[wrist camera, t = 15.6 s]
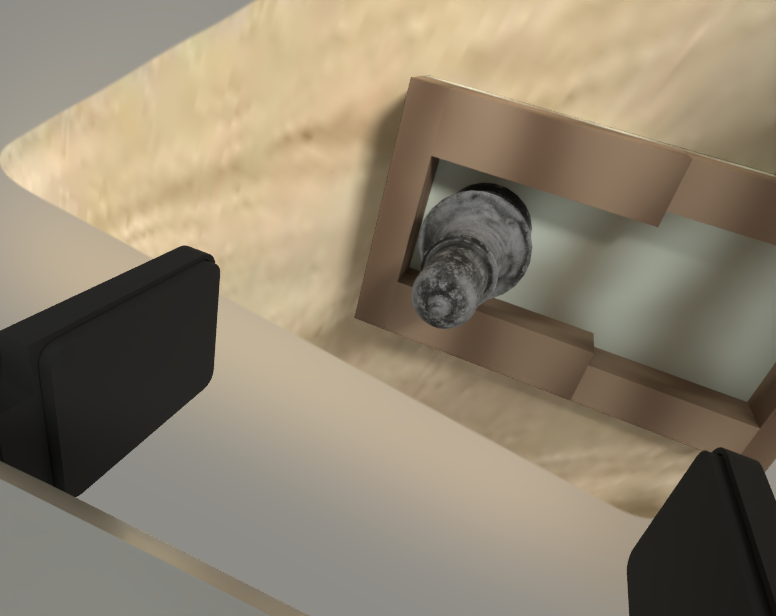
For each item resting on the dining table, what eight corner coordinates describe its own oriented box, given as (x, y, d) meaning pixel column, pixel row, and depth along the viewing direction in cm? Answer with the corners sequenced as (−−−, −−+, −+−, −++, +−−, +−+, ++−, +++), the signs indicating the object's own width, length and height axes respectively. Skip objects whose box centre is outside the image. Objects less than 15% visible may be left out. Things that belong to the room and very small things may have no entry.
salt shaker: (558, 208, 29) (543, 290, 19) (504, 294, 32) (467, 407, 22) (462, 158, 30) (396, 211, 19) (418, 247, 32) (340, 335, 22)
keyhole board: (909, 213, 25) (953, 234, 22) (746, 434, 32) (763, 474, 29) (428, 75, 29) (410, 77, 26) (373, 296, 36) (354, 317, 33)
